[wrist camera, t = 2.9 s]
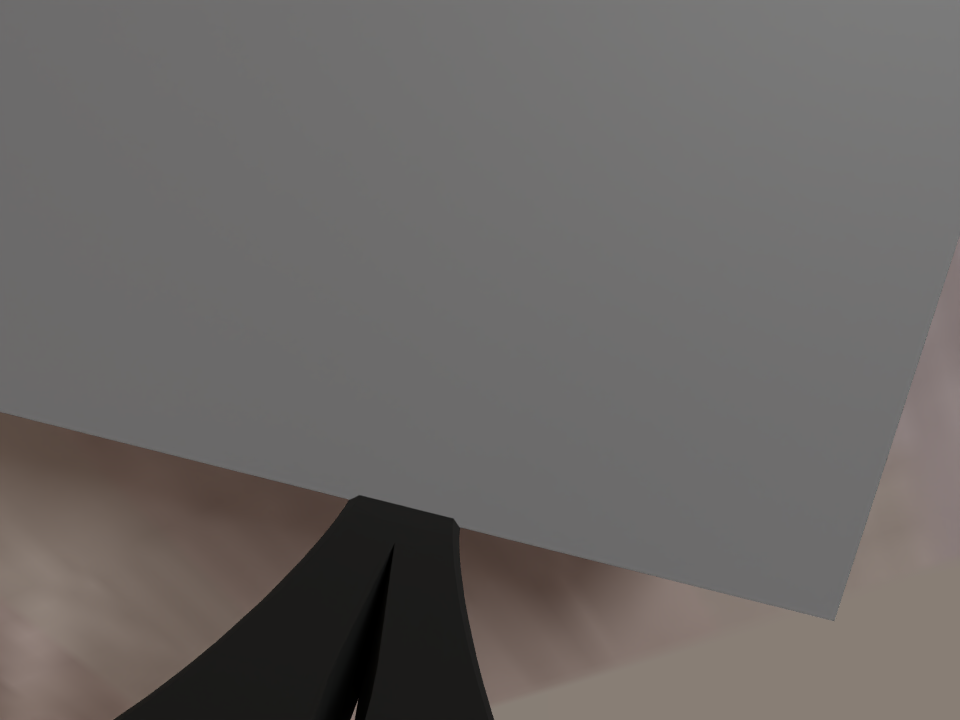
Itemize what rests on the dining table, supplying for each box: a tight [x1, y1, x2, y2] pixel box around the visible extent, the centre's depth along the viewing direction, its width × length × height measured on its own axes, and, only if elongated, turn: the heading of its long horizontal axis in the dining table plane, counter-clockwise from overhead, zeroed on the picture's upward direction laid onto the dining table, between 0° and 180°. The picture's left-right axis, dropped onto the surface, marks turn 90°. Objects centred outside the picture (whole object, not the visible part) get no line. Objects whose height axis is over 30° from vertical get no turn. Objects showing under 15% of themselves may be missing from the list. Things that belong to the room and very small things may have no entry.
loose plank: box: [0, 0, 960, 621], centre depth 15 cm, size 16×12×2 cm
